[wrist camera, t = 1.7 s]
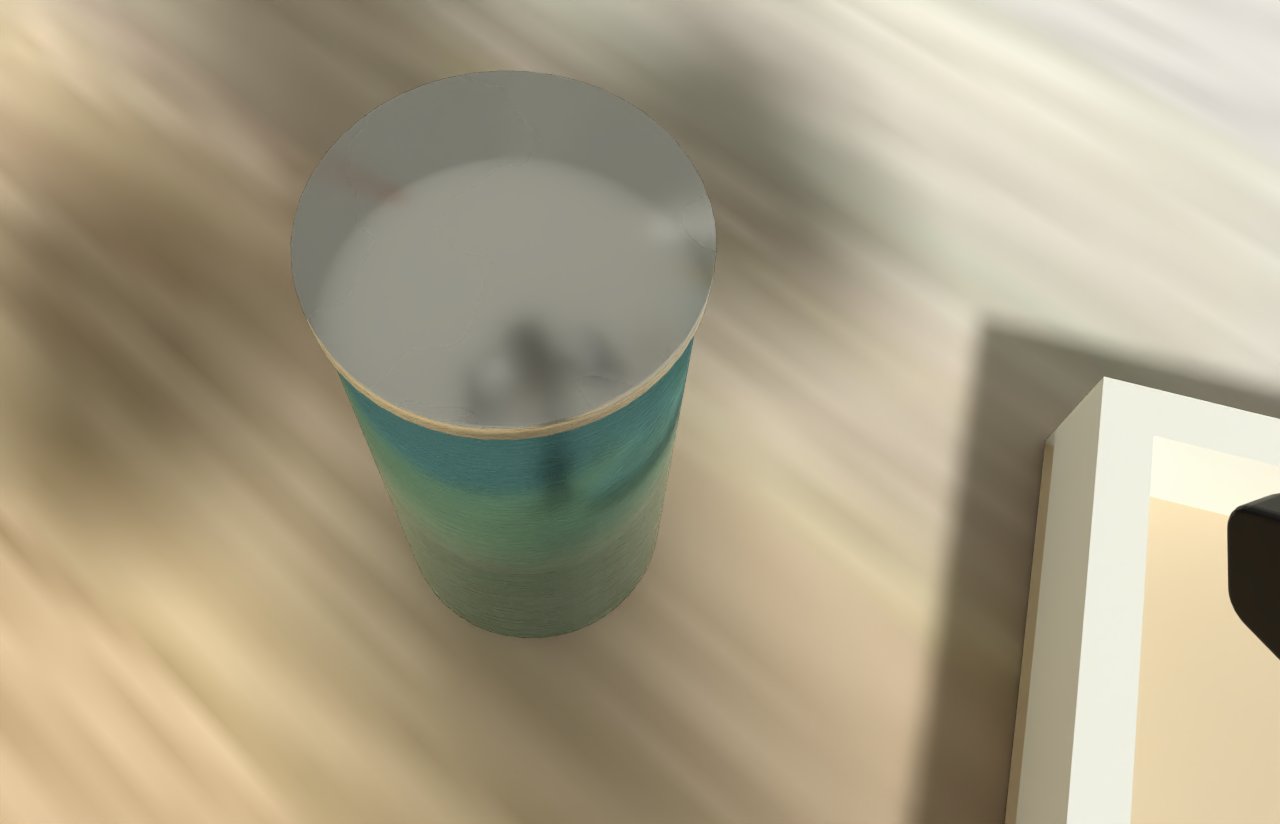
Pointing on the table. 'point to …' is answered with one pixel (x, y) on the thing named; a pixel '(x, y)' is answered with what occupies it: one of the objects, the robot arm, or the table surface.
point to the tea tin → (512, 331)
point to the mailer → (1145, 621)
